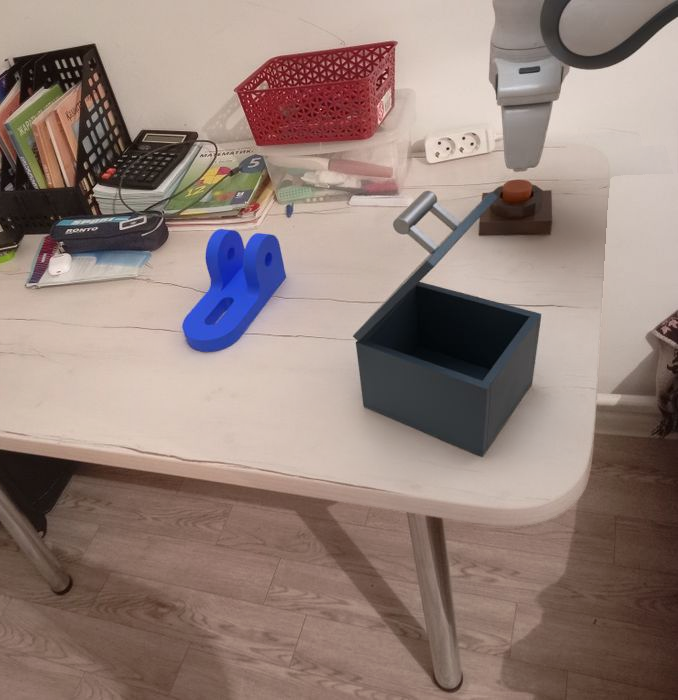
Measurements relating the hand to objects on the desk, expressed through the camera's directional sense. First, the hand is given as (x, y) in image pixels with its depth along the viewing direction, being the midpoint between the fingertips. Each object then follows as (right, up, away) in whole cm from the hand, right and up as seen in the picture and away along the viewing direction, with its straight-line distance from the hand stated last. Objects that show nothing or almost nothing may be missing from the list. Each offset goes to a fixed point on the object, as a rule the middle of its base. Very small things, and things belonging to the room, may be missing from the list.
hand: (520, 166), depth 83 cm
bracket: (-39, -19, +6) cm, 43 cm away
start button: (+1, -3, +3) cm, 5 cm away
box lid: (-21, -17, -24) cm, 37 cm away
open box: (-16, -30, -15) cm, 37 cm away
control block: (+2, -6, +5) cm, 8 cm away
